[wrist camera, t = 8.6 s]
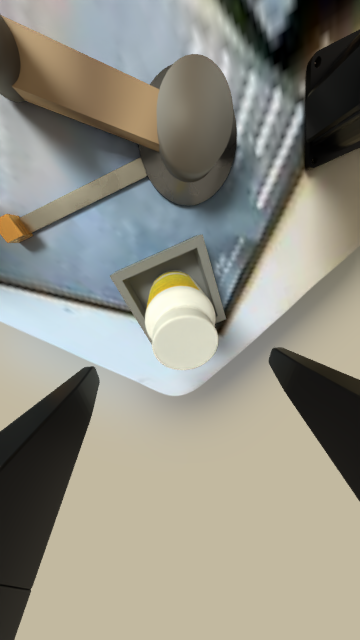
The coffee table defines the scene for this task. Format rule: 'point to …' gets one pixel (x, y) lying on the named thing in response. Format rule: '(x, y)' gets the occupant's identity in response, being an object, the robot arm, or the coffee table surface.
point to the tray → (179, 257)
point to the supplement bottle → (180, 322)
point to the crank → (124, 98)
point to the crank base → (120, 178)
